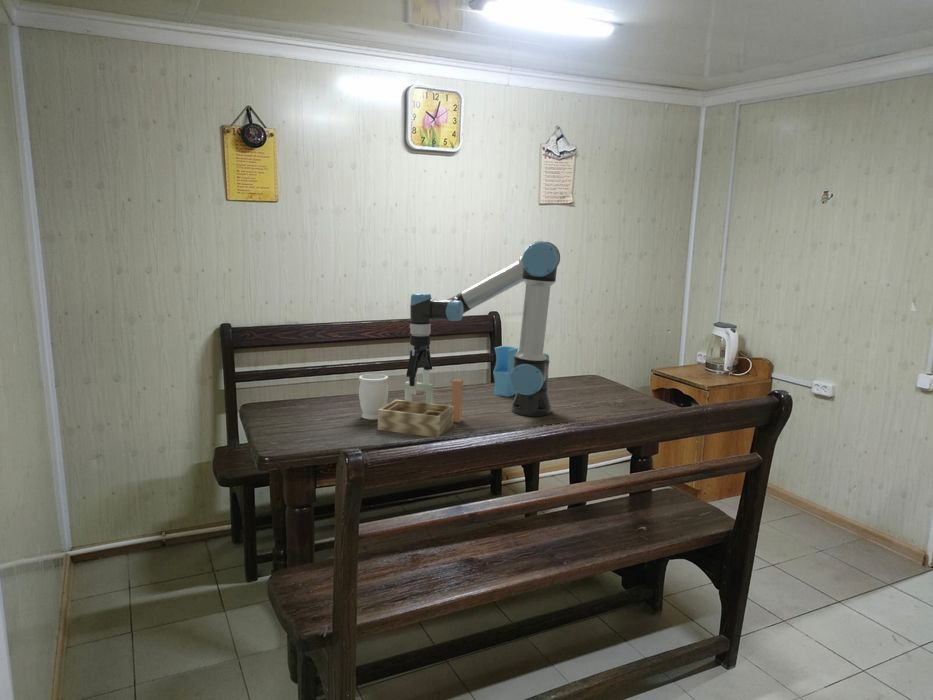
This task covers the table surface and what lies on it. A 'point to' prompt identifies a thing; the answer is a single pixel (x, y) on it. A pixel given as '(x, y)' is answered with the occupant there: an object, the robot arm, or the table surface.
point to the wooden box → (415, 418)
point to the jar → (372, 394)
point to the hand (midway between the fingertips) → (419, 390)
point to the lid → (420, 387)
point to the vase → (504, 370)
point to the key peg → (457, 399)
